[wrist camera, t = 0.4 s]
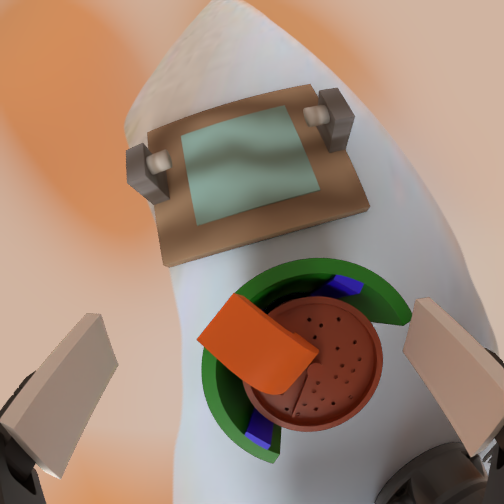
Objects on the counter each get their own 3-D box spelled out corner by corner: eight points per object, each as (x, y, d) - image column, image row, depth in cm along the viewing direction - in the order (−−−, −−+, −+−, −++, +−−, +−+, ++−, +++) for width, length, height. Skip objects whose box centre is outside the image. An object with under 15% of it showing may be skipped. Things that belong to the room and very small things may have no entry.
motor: (308, 397, 25) (333, 537, 5) (230, 357, 27) (114, 434, 7) (357, 308, 26) (486, 297, 7) (278, 268, 28) (251, 173, 8)
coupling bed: (366, 211, 28) (387, 180, 21) (169, 267, 29) (134, 253, 22) (310, 91, 32) (311, 50, 25) (151, 138, 34) (126, 105, 26)
